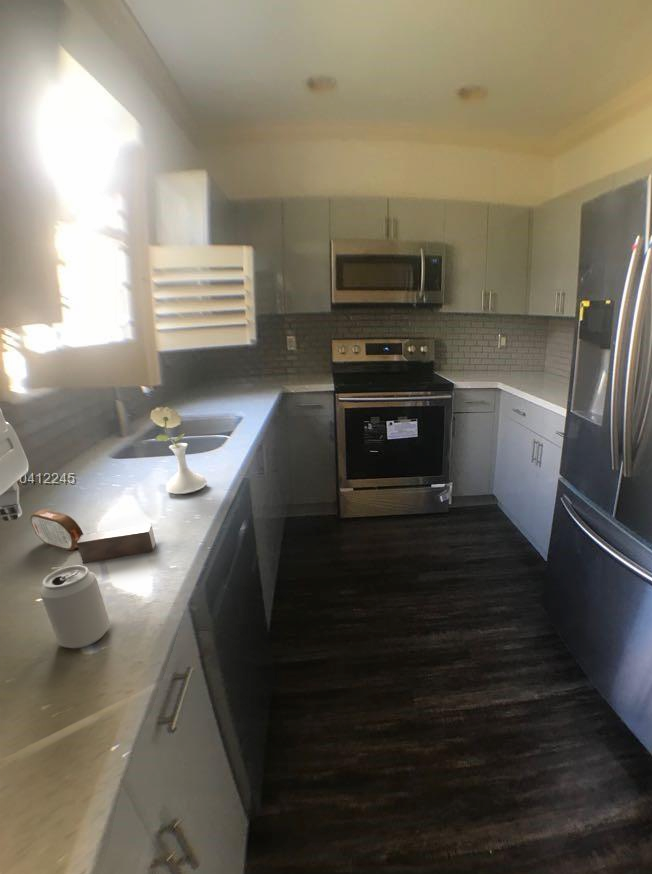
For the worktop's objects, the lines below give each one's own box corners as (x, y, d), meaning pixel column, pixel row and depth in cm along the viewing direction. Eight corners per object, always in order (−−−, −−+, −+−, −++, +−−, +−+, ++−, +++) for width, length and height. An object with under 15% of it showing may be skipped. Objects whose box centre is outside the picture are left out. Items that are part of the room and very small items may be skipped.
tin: (89, 548, 105) (78, 515, 101) (75, 555, 102) (64, 521, 99) (48, 536, 111) (38, 505, 108) (35, 543, 108) (23, 510, 105)
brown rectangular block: (82, 563, 98) (76, 543, 97) (87, 554, 102) (81, 534, 100) (153, 551, 102) (148, 531, 100) (155, 543, 106) (151, 523, 104)
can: (56, 634, 77) (34, 574, 72) (106, 615, 81) (88, 557, 77) (62, 659, 71) (38, 594, 67) (115, 637, 76) (96, 575, 72)
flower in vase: (215, 483, 140) (200, 402, 131) (192, 498, 130) (174, 412, 120) (178, 481, 143) (161, 402, 134) (153, 495, 133) (133, 410, 124)
